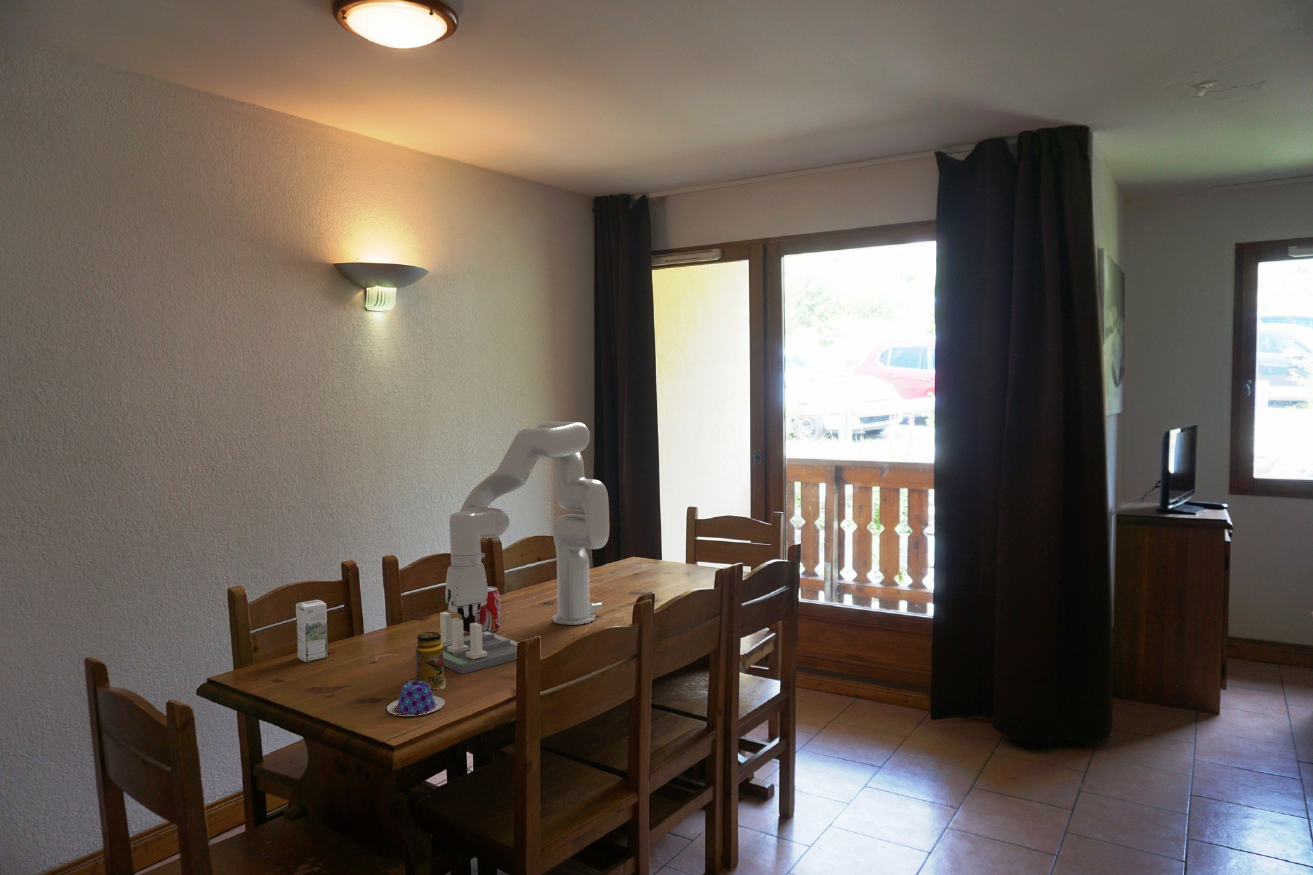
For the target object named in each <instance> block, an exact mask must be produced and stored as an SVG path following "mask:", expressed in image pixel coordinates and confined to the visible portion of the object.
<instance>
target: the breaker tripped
mask: <svg viewBox="0 0 1313 875" xmlns="http://www.w3.org/2000/svg"><path fill="white" fill-rule="evenodd" d="M451 621H452V646H448V647H447V651H449V652H452V653H454V652H457V651H462V650H466V649H469V646H466V645H464V630H463V620H462V618H460V617H459V618H458V617H454V618H451Z"/></svg>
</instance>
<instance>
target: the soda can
mask: <svg viewBox="0 0 1313 875" xmlns="http://www.w3.org/2000/svg"><path fill="white" fill-rule="evenodd" d="M487 590H488V596H487V599H486V600H487V604H485V605H484V606H482V607H480V608H479V610H478V611H477V614H476V615H475V623H478V624H481V625H482V632H487V631H488V632H491V633H493V632H496V631H497V630H498V629H500V628H501V600H500V596H501V595H500V593H499V591H498V587H496V586H487Z"/></svg>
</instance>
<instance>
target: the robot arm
mask: <svg viewBox="0 0 1313 875" xmlns="http://www.w3.org/2000/svg"><path fill="white" fill-rule="evenodd" d="M590 433H591V432H590V430H589V428H588V427H587V425H586V424H584V423H582V422H579V421H546V422H542V423H540V424H539V425H538V426H536V427H526V428H523V429H520V430H519V431H518V432H517V433H516V435H515V437H514V438H513V440H512V442H511V443H510V445H509V447H508V448H507V451H506V452H505V454H504V456H503V458H502V459H501V461H500V463H499V464H498V467H497V468H496V469H495V471H493V472H492V473H491V474H489V475H488V476H487V477H485V478H484V479H483V480H482V481H481V482H479V483H478V484H477V485H476V486H474V488H473V489H472V490H471V491H470V492H469V493H468V496H467V497H466V499H465V501H464V502H463V504H462V506H461V507H460V510H459V511H458V512H454V513H452V514H451V515H450V517H449V540H450V541H449V543H450V546H449V547H450V564H451V565H450V566H448V568H447V571H446V578H445V593H444V595H445V604H447V605H448V607H447V612H450V613H456V614H457V613H458V615H459V616H461V619H462V620H463V632H466V633H470V624H471V623H475V615H476V614H477V611H478V610H479V608H480V607H482V606H484V605H485V604H487V600H486V599H487V596H488V590H487V587H488V581H487V573H486V570H485V566H484V563H483V561H482V559H485V557H486V554H485V552H482V551H481V550H482V549H481V548H482V547H481V539H482V538H496V537H500V536H502V535H504V533H505V532H506V531H507V530H508V528H509V527H510V518H509V515H508V514H507V513H506V512H505V511H504V510H502V509H500V508H497V507H490V505H491V504H492V503H493V502H495V501H496V500H497V499H498V498H500V497H501V496H504V495H506V494H509V493H511V492H514V491H516V490H518V489H521V488H522V487H524V485H526V483H527V481H528V479H529V478H530V475H531V474H532V471H533V470H534V467H535V466H536V464H537V462H538V461H539V460H540V459H542V460H543V459H547V460H552V461H553V464H554V471H555V475H554V477H555V490H556V491H555V492H556V493H555V494H556V501H557V505H558V506H559V507H560V508H561V509H563V510H568V511H576V512H584V514H577V513H567V514H563V515H560V516H558V517H557V518H556V519H555V521H554V523H553V526H552V536H553V537H552V538H553V540H554V542H553V543H554V545H555V552H556V553H555V554H556V581H557V582H556V584H557V585H556V586H557V587H556V588H557V589H556V590H557V594H556V595H557V613H555V614H554V615H553V616H552V622H554V623H555V624H559V625H567V626H576V625H584V623H585V624H589V623H591V621H592V622H593V621H595V619H596V614H594V612H595V610H601V609H602V608H603V604H602V602H601V601H600V602H596V603H594V602H591V600H590V598H591V597H590V559H589V556H588V553H587V551H586V549H589V550H598V549H602V548H604V547H605V545H607V543H608V541H609V537H610V506H609V495H608V490H607V488H606V485H605V484H604V483H603V482H602V481H600V480H598V479H594V478H586V476H585V468H584V467H585V465H584V459H583V456H582V453H581V452H582V451H584V450H585V449H586V448H587V447H588V445H589V444H590V440H591V434H590Z"/></svg>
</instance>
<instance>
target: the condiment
mask: <svg viewBox="0 0 1313 875" xmlns="http://www.w3.org/2000/svg"><path fill="white" fill-rule="evenodd" d="M415 657H416V658H415V660H416V665H415V666H416V667H415V668H416V679H411V680H408V683H409V682H415V681H425V682H427V683H428V684H429V685H430V687H431V689H433V688H441V689H440V690H444V689H445V688H446V678H447V677H445V676H444V675H445V674H444V672H445V671H444V665H443V646H442V644H441V632H440V633H439V632H437V631H426V632H422V633H420V634H418V636H417V646H416V647H415ZM443 684H444V685H443ZM441 686H443V687H441Z"/></svg>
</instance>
